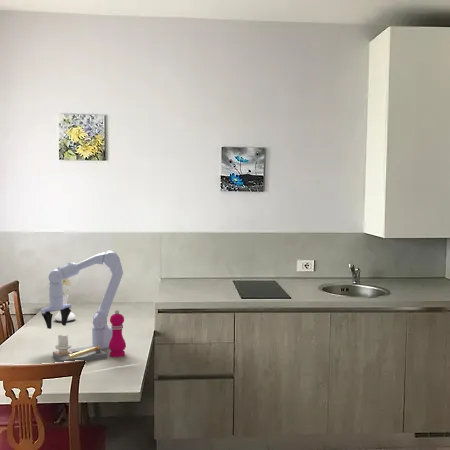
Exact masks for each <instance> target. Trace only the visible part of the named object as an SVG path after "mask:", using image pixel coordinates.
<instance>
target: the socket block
mask: <svg viewBox="0 0 450 450" xmlns="http://www.w3.org/2000/svg"><path fill="white" fill-rule="evenodd" d="M92 347H95V346H84V347H76V348H69V349H68V352H67V353H59V350H56V351H52V357H53V358H54V359H55V360H56V362H57V363H59V362H64V361H75V360H86V361H85V362H90V361H96V360H102V359H107V357H108V355H107V352H105V351H104V350H103V349H101V350H97V351H94V352H91V353H88V354H85V355H82V356H79V357H76V358H73V359H68V355H70V354H73V353H77V352H80V351H83V350H86V349H89V348H92Z"/></svg>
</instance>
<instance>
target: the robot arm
mask: <svg viewBox="0 0 450 450" xmlns="http://www.w3.org/2000/svg"><path fill="white" fill-rule="evenodd" d="M96 264H97V265H102V266H103V265H105V266H106V267H108V268H109V270H110V272H111V275H110V279H109V282H108V283H107V287H106V289H105V292H104V294H103V297H102V300H101V302H100V305H99V307H98V309H97V311H96V312H95V313H94V314H93V317H92V325H93V326H92V327H91V334H92V336H91V343H92V344H90V345H89V346H88V347H90V346H97V345H100V346H101V350H103V349H107V348H108V349H109V343H110V340H111V338H112V333H113V331H112V329H111V326H109V325H108V317H109V313H110V309H111V307H112V304H113V302H114V299H115V296H116V293H117V291H118V288H119V285H120V282H121V281H122V277H123V275H124V271H123V267H122V263H121V259H120V257H119V255H118V254H117V252H116V251H114V250H107V251H105V252H100V253H97V254H95V255H93V256H91V257H88V258H87V259H85V260H81V261H80V262H78V263H77V262H70V261H69V262H67V264H66V265H63V266H58V267H57V269H52V270H51V271H50V272H49V274H48V280H49V283H48V285H49V287H48V288H49V289H48V290H49V294H48V295H49V306H47V307H43V308H40V313H41V316H42V318H43V319H44V321H45V325H46V329H48V330H52V325H53V324H52V320H53V315H54V314H53V313H52V312H57V311H58V312H61V317H62V321H61V325H62V326H64V327H65V326H67V322H68V321H67V319H68V316H69V314H70V312H72V303H67V304H63V293H64V290H63V289H64V287H63V286H64V285H63V286H62V284H63V283H62V279H67V278H69V279H70V278H72V277H75V276H77V275H79V273H80V271H82V270H83V269H87V268H89V267H91V266H94V265H96Z"/></svg>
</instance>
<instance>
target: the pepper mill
mask: <svg viewBox="0 0 450 450" xmlns="http://www.w3.org/2000/svg"><path fill="white" fill-rule="evenodd" d="M109 322H110V324H111V326H110V327H111V329H112V331H113V333H112V338H111V340H110V343H109V348H108V349H109V350H110V352H109V355H110V357H112V358H120V357H124V356H125V354H126V351H125V349H126V347H127V345H126V344H127V343H126V340H125V339H124V336H123V329H124V325H123V323H124V322H125V317H124V315H123V314H121V313H120V311H119V310H118V309H116V310H115V311H114V314H112V315H111V316H110V318H109Z"/></svg>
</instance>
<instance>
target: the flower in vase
mask: <svg viewBox="0 0 450 450" xmlns="http://www.w3.org/2000/svg"><path fill="white" fill-rule="evenodd" d="M71 284H72V282H71V280H70V278H67V279H62V286H66V287H70V286H71ZM68 290H69V289H67V290H65V291H64V292H63V304H68V299H69V297H70V295H69V294H65V293H66V292H67V291H68ZM76 318H77V317H76V315H75V313H73V312H72V311H71V312H70V314H69V316H68V319H67V322H69V321H73V320H75V319H76ZM53 319H54V320H55V321H58V322H62V317H61V312H60V311H58V313H57V314H55V315H54V317H53Z"/></svg>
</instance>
